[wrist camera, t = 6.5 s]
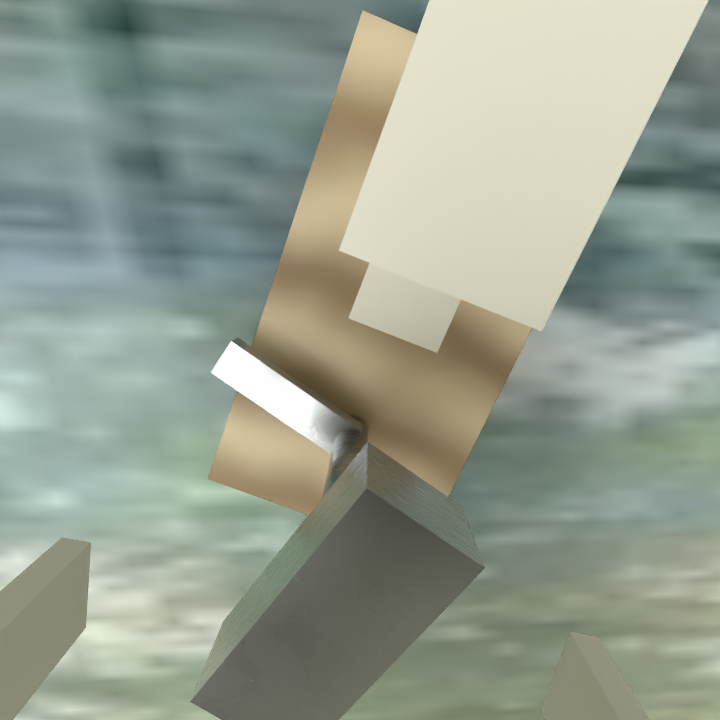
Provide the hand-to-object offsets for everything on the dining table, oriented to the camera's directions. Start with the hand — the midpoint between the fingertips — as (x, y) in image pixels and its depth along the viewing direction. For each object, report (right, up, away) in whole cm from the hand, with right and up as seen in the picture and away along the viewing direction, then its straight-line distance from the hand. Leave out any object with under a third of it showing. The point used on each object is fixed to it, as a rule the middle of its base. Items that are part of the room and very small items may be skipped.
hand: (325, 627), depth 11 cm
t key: (-2, +5, +12) cm, 13 cm away
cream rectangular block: (+5, +15, +10) cm, 18 cm away
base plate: (+3, +10, +13) cm, 17 cm away
